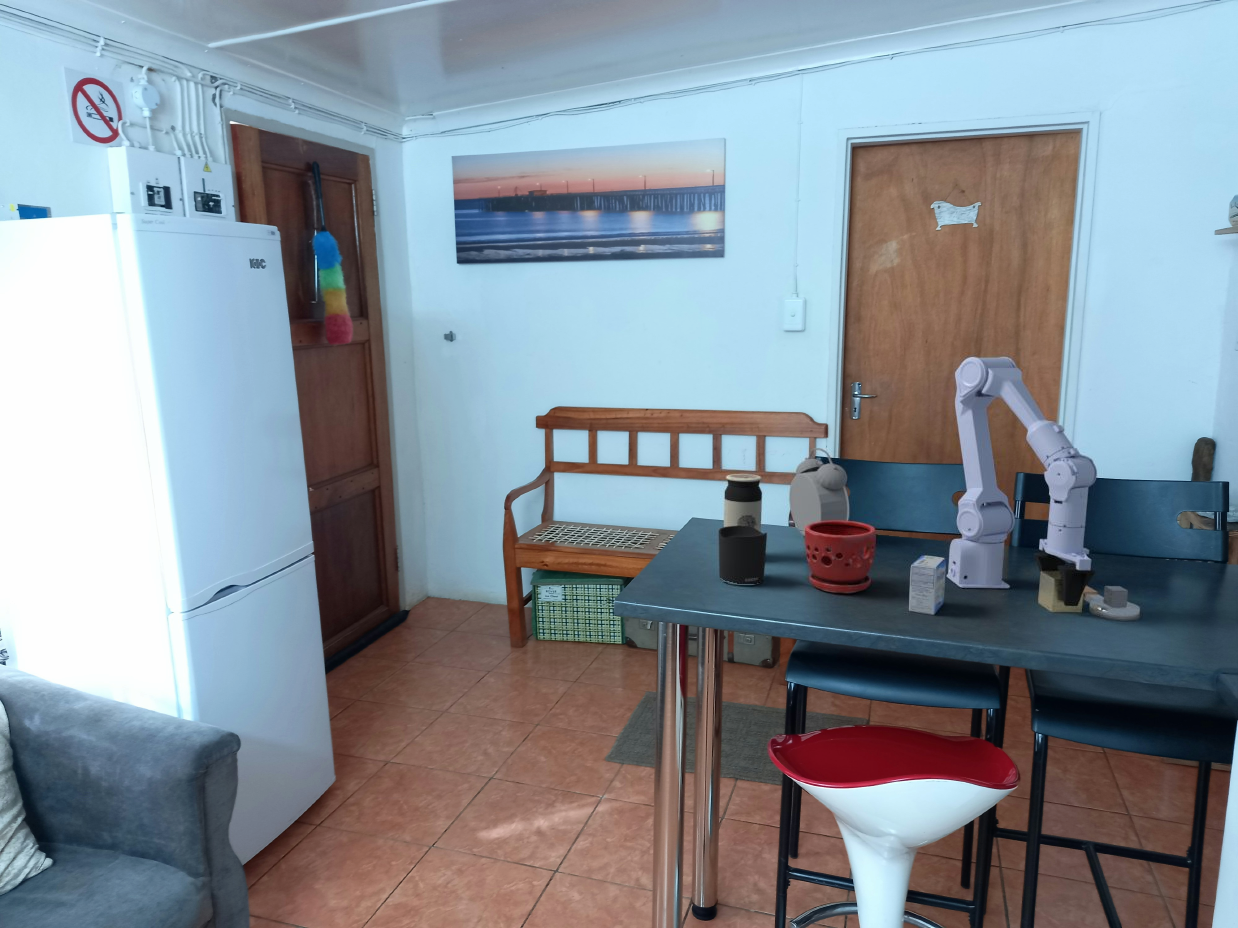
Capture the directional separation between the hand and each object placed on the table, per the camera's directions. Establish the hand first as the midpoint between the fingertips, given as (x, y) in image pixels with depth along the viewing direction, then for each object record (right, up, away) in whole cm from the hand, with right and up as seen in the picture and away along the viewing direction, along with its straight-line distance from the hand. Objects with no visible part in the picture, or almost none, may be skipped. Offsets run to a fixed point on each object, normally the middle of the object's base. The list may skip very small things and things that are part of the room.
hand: (1060, 598), depth 153 cm
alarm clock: (-32, +6, +50) cm, 60 cm away
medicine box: (-24, -2, 0) cm, 24 cm away
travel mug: (-52, +3, +33) cm, 62 cm away
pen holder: (-55, +1, +16) cm, 57 cm away
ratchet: (+8, -1, +2) cm, 8 cm away
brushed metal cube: (0, -2, 0) cm, 2 cm away
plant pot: (-37, 0, +12) cm, 39 cm away
